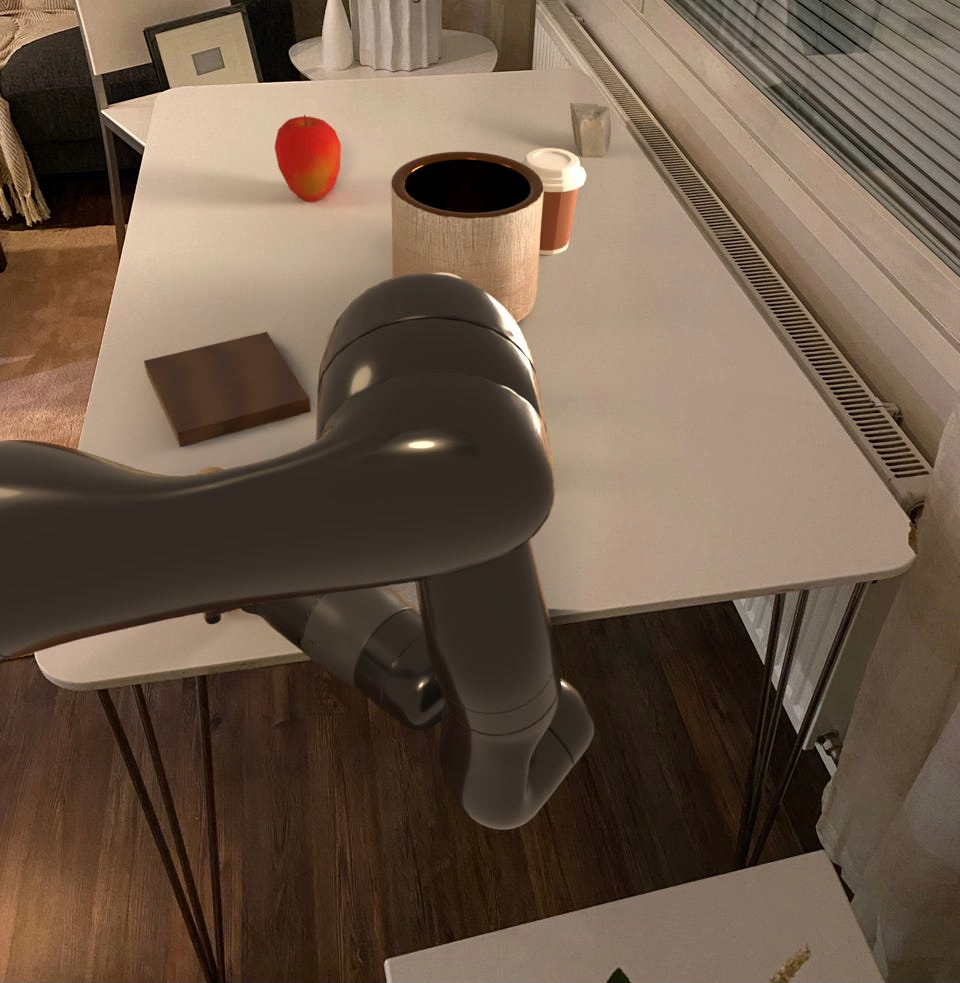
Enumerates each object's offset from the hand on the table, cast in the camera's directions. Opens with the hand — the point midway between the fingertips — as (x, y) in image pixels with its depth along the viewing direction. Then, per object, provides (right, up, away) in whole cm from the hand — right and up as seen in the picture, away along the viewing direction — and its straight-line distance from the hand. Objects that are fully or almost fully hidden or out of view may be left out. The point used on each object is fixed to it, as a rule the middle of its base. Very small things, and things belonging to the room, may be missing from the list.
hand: (197, 509), depth 79 cm
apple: (-1, +44, +62) cm, 76 cm away
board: (-4, +12, +26) cm, 29 cm away
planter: (+21, +25, +42) cm, 53 cm away
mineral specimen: (+41, +56, +77) cm, 103 cm away
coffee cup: (+32, +35, +54) cm, 72 cm away
